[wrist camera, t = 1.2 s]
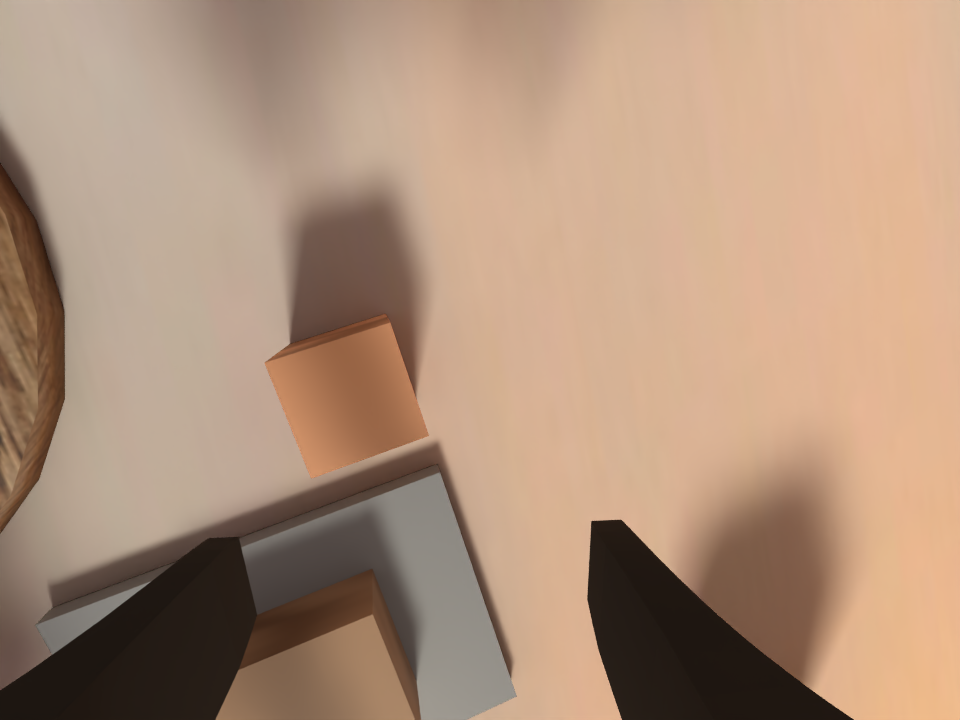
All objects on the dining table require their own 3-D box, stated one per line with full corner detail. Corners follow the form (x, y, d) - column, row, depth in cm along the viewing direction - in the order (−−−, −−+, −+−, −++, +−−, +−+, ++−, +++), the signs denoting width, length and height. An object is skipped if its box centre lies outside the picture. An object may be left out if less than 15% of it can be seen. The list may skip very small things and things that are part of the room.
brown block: (236, 761, 21) (215, 837, 18) (178, 646, 20) (145, 708, 17) (416, 681, 22) (423, 741, 19) (372, 568, 21) (372, 614, 18)
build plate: (178, 832, 22) (169, 857, 21) (52, 608, 19) (35, 624, 18) (511, 680, 24) (516, 696, 24) (437, 463, 22) (439, 472, 21)
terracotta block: (324, 433, 21) (311, 478, 16) (290, 343, 20) (264, 362, 15) (415, 401, 21) (428, 435, 17) (385, 313, 21) (390, 322, 16)
